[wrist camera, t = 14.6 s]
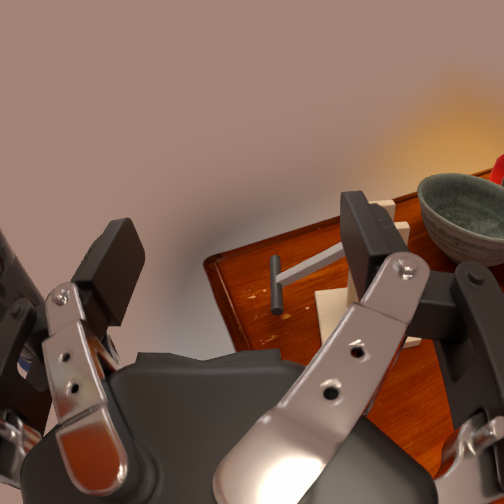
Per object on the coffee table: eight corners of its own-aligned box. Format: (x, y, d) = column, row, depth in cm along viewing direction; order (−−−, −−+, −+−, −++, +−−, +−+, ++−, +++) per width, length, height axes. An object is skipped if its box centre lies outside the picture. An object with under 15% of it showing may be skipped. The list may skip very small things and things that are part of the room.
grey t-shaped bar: (278, 320, 31) (265, 307, 30) (276, 267, 37) (264, 254, 36) (408, 257, 25) (400, 240, 24) (382, 210, 32) (374, 193, 31)
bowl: (438, 306, 36) (458, 248, 30) (393, 220, 52) (398, 170, 46) (535, 284, 34) (557, 234, 28) (480, 213, 50) (490, 168, 44)
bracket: (323, 360, 34) (326, 254, 24) (314, 297, 42) (310, 193, 32) (419, 345, 33) (456, 240, 23) (397, 287, 40) (415, 186, 31)
